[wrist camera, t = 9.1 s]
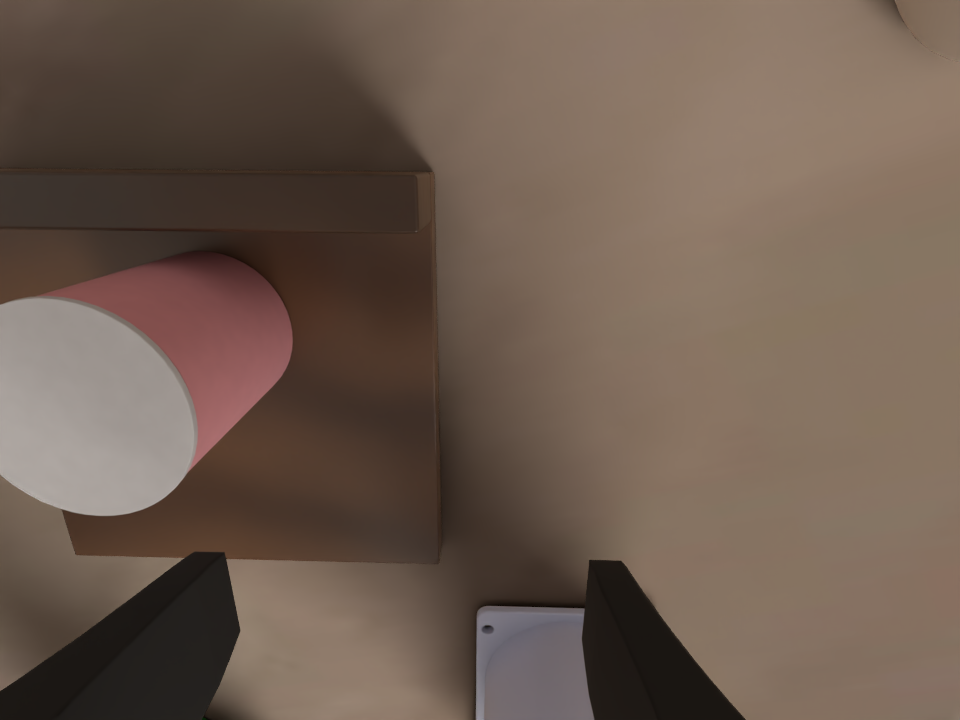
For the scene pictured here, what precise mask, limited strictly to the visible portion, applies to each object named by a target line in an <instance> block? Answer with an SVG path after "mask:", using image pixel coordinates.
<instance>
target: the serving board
mask: <svg viewBox="0 0 960 720" xmlns="http://www.w3.org/2000/svg"><path fill="white" fill-rule="evenodd" d="M193 251H206V252H214V253H219V254H223V255H226V256H229V257H232V258H234V259H237V260H239V261H241V262H243V263H245V264H246V265H248V266H249V267H251V268H253V269H254V270H255V271H257V272H258V273H259V274H260V275H262V276H263V277H264V278H265V279H266V280H267V281H268V282H269V283H270V284H271V286H272V287H273V288H274V289H275V291H276V292H277V293H278V295H279V297H280V298H281V300H282V301H283V304H284V306H285V308H286V310H287V312H288V316H289V319H290V322H291V328H292V336H293V344H292V353H291V357H290V360H289V363H288V365H287V368H286V370H285V371H284V373H283V375H282V376H281V378H280V379H279V380H278V381H277V382H276V383H275V384H274V386H273V387H272V388H271V389H270V390H269V391H268V392H267V393H266V394H265V395H264V396H263V397H262V398H261V399H260V400H259V401H258V402H257V403H256V404H255V405H254V406H253V407H252V408H251V409H250V410H249V411H248V412H247V413H246V414H245V415H244V416H243V417H242V418H241V419H240V420H239V421H238V422H237V423H236V424H235V425H234V426H233V427H232V428H231V429H230V430H229V431H228V432H227V433H226V434H225V435H224V436H223V437H222V438H221V439H220V440H219V441H218V442H217V443H216V444H215V445H214V446H213V447H212V448H211V449H210V450H209V451H208V452H207V453H206V454H205V455H204V456H203V457H202V458H201V459H200V460H199V461H198V462H197V464H196V465H195V466H194V467H193V468H192V469H191V470H190V471H189V472H188V473H187V474H186V475H185V477H184V478H183V480H182V481H181V482H180V483H179V484H178V486H177V487H176V488H175V489H174V490H173V491H172V492H170V493H169V494H168V495H167V496H166V497H165V498H163V499H162V500H160V501H159V502H157V503H155V504H154V505H152V506H149V507H147V508H145V509H143V510H139V511H136V512H132V513H129V514H122V515H115V516H96V515H85V514H80V513H75V512H70V511H67V510H63V509H62V512H63V515H64V519H65V522H66V525H67V528H68V531H69V535H70V538H71V541H72V544H73V548H74V551H75V554H76V555H93V556H133V557H174V558H186V557H187V556H189V555H190V554H191V553H193V552H194V551H197V552H225V556H226V559H255V560H295V561H335V562H376V563H416V564H439V563H440V556H441V549H442V518H441V470H440V422H439V374H438V326H437V278H436V229H435V181H434V172H414V171H293V170H171V169H50V168H0V305H1V304H4V303H6V302H9V301H13V300H16V299H22V298H27V297H35V296H38V295H42V294H45V293H48V292H52V291H55V290H59V289H62V288H65V287H69V286H72V285H76V284H79V283H82V282H86V281H89V280H93V279H96V278H99V277H103V276H106V275H110V274H113V273H116V272H120V271H123V270H126V269H130V268H133V267H137V266H140V265H143V264H147V263H150V262H154V261H157V260H160V259H164V258H167V257H171V256H174V255H177V254H181V253H186V252H193Z"/></svg>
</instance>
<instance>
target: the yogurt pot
mask: <svg viewBox="0 0 960 720" xmlns="http://www.w3.org/2000/svg"><path fill="white" fill-rule="evenodd" d="M292 344H293V336H292V328H291V322H290V319H289V316H288V312H287V310H286V308H285V306H284V304H283V301H282V300H281V298H280V297H279V295H278V293H277V292H276V291H275V289H274V288H273V287H272V286H271V284H270V283H269V282H268V281H267V280H266V279H265V278H264V277H263V276H262V275H260V274H259V273H258V272H257V271H255V270H254V269H253V268H251V267H249V266H248V265H246V264H245V263H243V262H241V261H239V260H237V259H234V258H232V257H229V256H226V255H223V254H219V253H214V252H206V251H193V252H186V253H181V254H177V255H174V256H171V257H167V258H164V259H160V260H157V261H154V262H150V263H147V264H143V265H140V266H137V267H133V268H130V269H126V270H123V271H120V272H116V273H113V274H110V275H106V276H103V277H99V278H96V279H93V280H89V281H86V282H82V283H79V284H76V285H72V286H69V287H65V288H62V289H59V290H55V291H52V292H48V293H45V294H42V295H38V296H35V297H27V298H22V299H16V300H13V301H9V302H6V303H4V304H1V305H0V475H1V476H2V477H3V478H5V479H6V480H7V481H9V482H10V483H11V484H13V485H14V486H15V487H17V488H19V489H20V490H22V491H23V492H25V493H26V494H28V495H30V496H32V497H34V498H36V499H38V500H40V501H42V502H44V503H47V504H49V505H52V506H54V507H57V508H60V509H63V510H67V511H70V512H75V513H80V514H85V515H96V516H115V515H122V514H129V513H132V512H136V511H139V510H143V509H145V508H147V507H149V506H152V505H154V504H155V503H157V502H159V501H160V500H162V499H163V498H165V497H166V496H167V495H168V494H169V493H170V492H172V491H173V490H174V489H175V488H176V487H177V486H178V484H179V483H180V482H181V481H182V480H183V478H184V477H185V475H186V474H187V473H188V472H189V471H190V470H191V469H192V468H193V467H194V466H195V465H196V464H197V462H198V461H199V460H200V459H201V458H202V457H203V456H204V455H205V454H206V453H207V452H208V451H209V450H210V449H211V448H212V447H213V446H214V445H215V444H216V443H217V442H218V441H219V440H220V439H221V438H222V437H223V436H224V435H225V434H226V433H227V432H228V431H229V430H230V429H231V428H232V427H233V426H234V425H235V424H236V423H237V422H238V421H239V420H240V419H241V418H242V417H243V416H244V415H245V414H246V413H247V412H248V411H249V410H250V409H251V408H252V407H253V406H254V405H255V404H256V403H257V402H258V401H259V400H260V399H261V398H262V397H263V396H264V395H265V394H266V393H267V392H268V391H269V390H270V389H271V388H272V387H273V386H274V384H275V383H276V382H277V381H278V380H279V379H280V378H281V376H282V375H283V373H284V371H285V370H286V368H287V365H288V363H289V360H290V357H291V353H292Z"/></svg>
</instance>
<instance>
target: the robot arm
mask: <svg viewBox="0 0 960 720" xmlns="http://www.w3.org/2000/svg"><path fill="white" fill-rule="evenodd" d="M485 625H490V626H491V627H485ZM239 633H240V626H239V621H238V616H237V611H236V606H235V601H234V596H233V591H232V586H231V581H230V576H229V571H228V566H227V561H226V556H225V552H197V551H194V552H193V553H191V554H190V555H189V556H187V557H186V558H184V559H183V560H181V561H180V562H179V563H177V564H176V565H175V566H173V567H172V568H171V569H169V570H168V571H167V572H165V573H164V574H163V575H161V576H160V577H159V578H157V579H156V580H155V581H153V582H152V583H151V584H149V585H148V586H147V587H145V588H144V589H143V590H141V591H140V592H139V593H137V594H136V595H135V596H134V597H132V598H131V599H130V600H128V601H127V602H126V603H124V604H123V605H122V606H120V607H119V608H117V609H116V610H115V611H113V612H112V613H111V614H109V615H108V616H107V617H105V618H104V619H103V620H101V621H100V622H99V623H97V624H96V625H95V626H93V627H92V628H91V629H89V630H88V631H87V632H85V633H84V634H82V635H81V636H80V637H78V638H77V639H75V640H74V641H72V642H71V643H70V644H68V645H67V646H65V647H64V648H62V649H61V650H60V651H58V652H57V653H55V654H54V655H52V656H51V657H49V658H48V659H47V660H45V661H44V662H42V663H41V664H39V665H38V666H37V667H35V668H34V669H32V670H31V671H29V672H28V673H27V674H25V675H24V676H22V677H21V678H19V679H18V680H16V681H15V682H13V683H12V684H10V685H9V686H7V687H6V688H4V689H3V690H1V691H0V720H202V718H203V716H204V714H205V712H206V710H207V708H208V706H209V704H210V702H211V701H212V699H213V697H214V695H215V693H216V691H217V689H218V687H219V685H220V682H221V680H222V677H223V675H224V672H225V670H226V667H227V665H228V662H229V660H230V657H231V654H232V652H233V649H234V646H235V644H236V641H237V638H238V636H239ZM476 720H746V719H745V718H744V717H743V716H742V715H741V714H740V713H739V712H738V710H737V709H736V708H735V707H734V706H733V705H732V704H731V703H730V702H729V700H728V699H727V698H726V697H725V696H724V695H723V693H722V692H721V691H720V690H719V689H718V688H717V686H716V685H715V684H714V683H713V682H712V681H711V680H710V678H709V677H708V676H707V675H706V673H705V672H704V671H703V670H702V669H701V667H700V666H699V665H698V664H697V663H696V661H695V660H694V659H693V658H692V656H691V655H690V654H689V652H688V651H687V650H686V649H685V647H684V646H683V645H682V643H681V642H680V641H679V640H678V638H677V637H676V636H675V635H674V633H673V632H672V631H671V629H670V628H669V627H668V625H667V624H666V623H665V621H664V620H663V619H662V617H661V616H660V615H659V613H658V612H657V610H656V609H655V608H654V606H653V605H652V603H651V602H650V601H649V599H648V598H647V596H646V595H645V594H644V592H643V591H642V589H641V588H640V586H639V585H638V583H637V582H636V580H635V579H634V577H633V576H632V574H631V573H630V571H629V570H628V568H627V567H626V566H625V564H624V563H623V562H622V561H610V560H589V570H588V580H587V590H586V600H585V608H551V607H513V606H484V607H482V608H480V609H479V610H478V612H477V638H476Z"/></svg>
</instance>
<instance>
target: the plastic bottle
mask: <svg viewBox="0 0 960 720" xmlns="http://www.w3.org/2000/svg"><path fill="white" fill-rule="evenodd" d="M894 1H895V3H896V5H897V8H898V10H899V13H900V15H901V17H902V19H903V22H904V23H905V24H906V26H907V27H908V28H909V30H910V31H911V33H912V34H913V35H914V37H915V38H916V39H917V40H918V41H920V42H921V43H922V44H923V45H924V46H926V47H927V48H928V49H929V50H930V51H932V52H934V53H936V54H938V55H940V56H942V57H945V58H947V59H949V60H952V61H957V62H960V0H894Z"/></svg>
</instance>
